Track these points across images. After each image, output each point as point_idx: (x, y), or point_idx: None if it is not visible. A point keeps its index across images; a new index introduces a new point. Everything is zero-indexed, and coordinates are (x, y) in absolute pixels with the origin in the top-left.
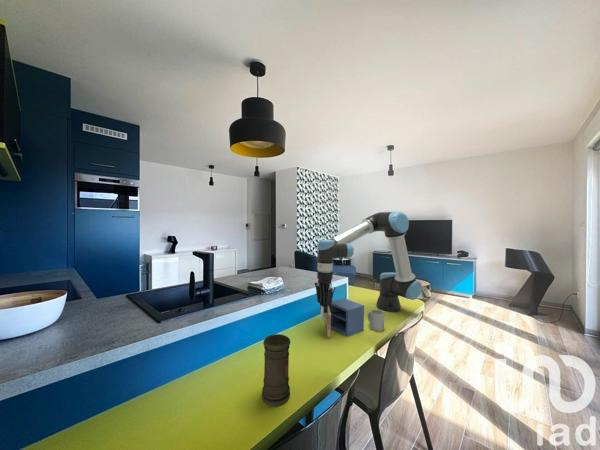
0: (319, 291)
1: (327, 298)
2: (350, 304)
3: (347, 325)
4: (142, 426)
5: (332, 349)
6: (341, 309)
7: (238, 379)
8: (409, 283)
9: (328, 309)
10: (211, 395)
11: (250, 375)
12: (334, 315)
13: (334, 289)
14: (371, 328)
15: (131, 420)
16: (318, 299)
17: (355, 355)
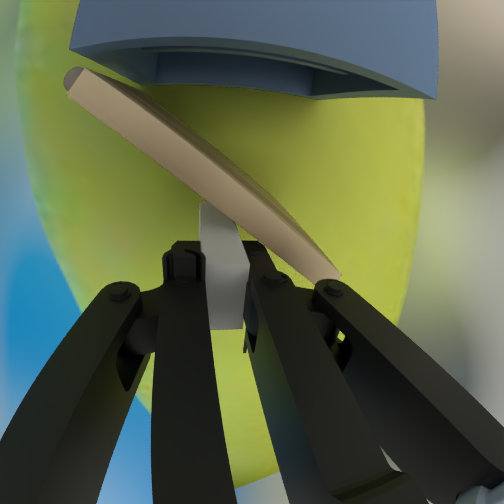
0: (81, 476)
1: (370, 418)
2: None
3: (349, 97)
4: (258, 474)
5: (336, 255)
6: (337, 66)
7: (255, 441)
8: None
9: (233, 199)
10: (261, 455)
11: (259, 433)
12: (183, 49)
13: None
14: None
15: (243, 478)
16: (135, 379)
17: (411, 217)
